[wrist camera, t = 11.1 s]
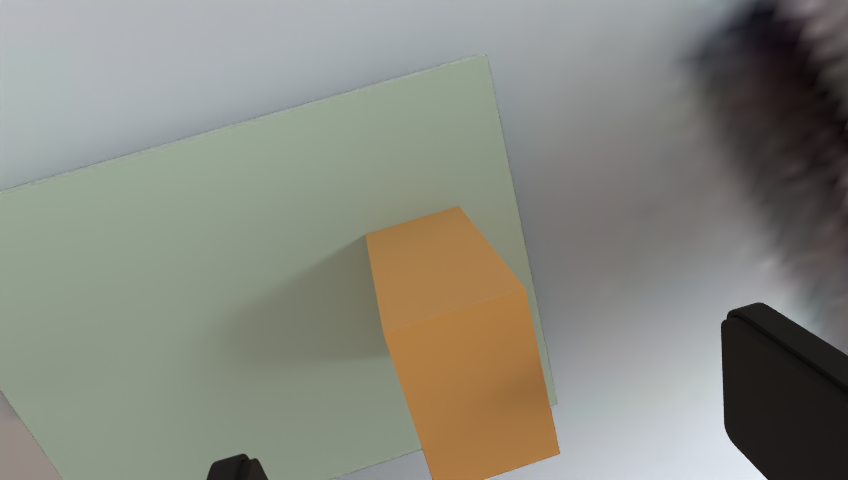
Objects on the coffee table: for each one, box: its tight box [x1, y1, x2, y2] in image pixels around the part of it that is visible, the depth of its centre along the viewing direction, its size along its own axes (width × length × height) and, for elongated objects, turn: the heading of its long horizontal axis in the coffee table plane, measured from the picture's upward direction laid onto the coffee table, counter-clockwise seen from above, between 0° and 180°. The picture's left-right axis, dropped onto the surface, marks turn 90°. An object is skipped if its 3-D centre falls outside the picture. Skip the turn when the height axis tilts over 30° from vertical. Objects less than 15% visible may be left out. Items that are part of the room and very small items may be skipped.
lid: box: [0, 55, 560, 480], centre depth 15 cm, size 17×13×8 cm
